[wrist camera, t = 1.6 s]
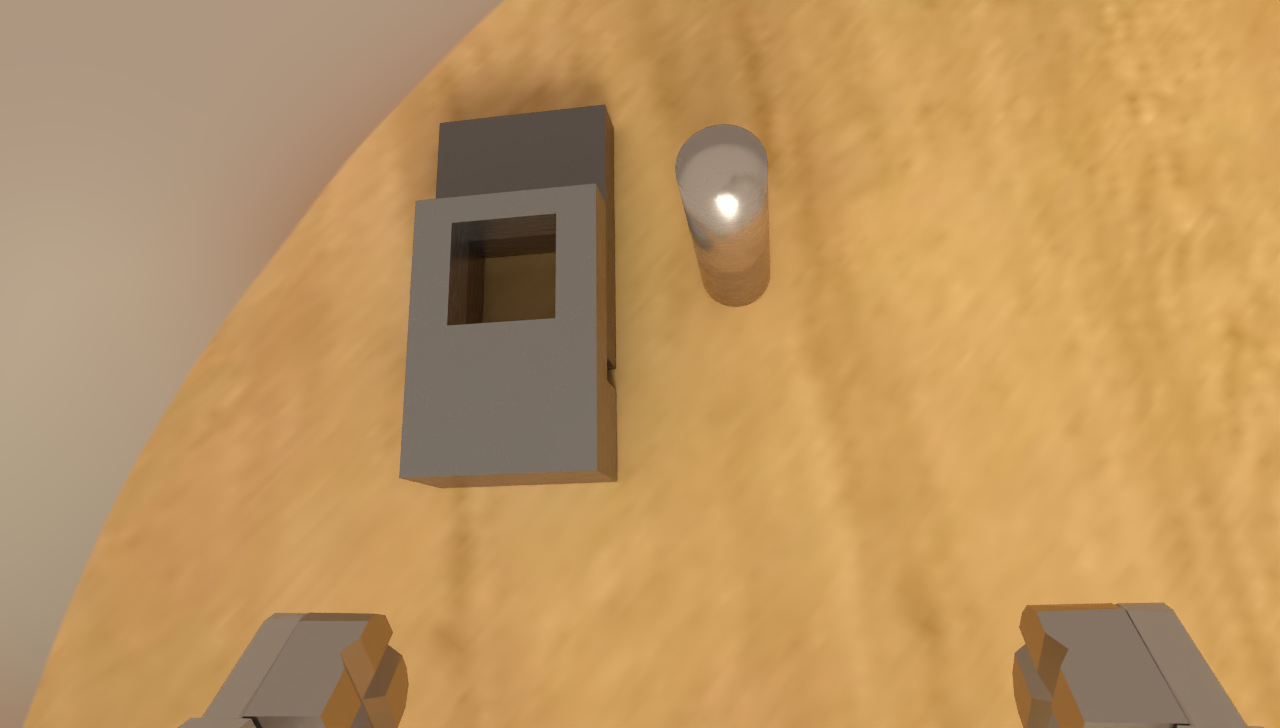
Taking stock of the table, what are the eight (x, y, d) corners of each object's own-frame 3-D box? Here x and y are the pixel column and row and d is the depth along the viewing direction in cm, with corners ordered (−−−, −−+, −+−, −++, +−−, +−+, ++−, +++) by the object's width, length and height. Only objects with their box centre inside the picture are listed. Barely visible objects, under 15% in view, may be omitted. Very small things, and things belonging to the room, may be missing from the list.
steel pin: (767, 240, 36) (764, 119, 26) (772, 304, 35) (770, 203, 25) (701, 246, 36) (674, 129, 26) (703, 309, 35) (676, 211, 26)
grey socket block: (613, 127, 38) (595, 79, 34) (617, 481, 34) (597, 470, 30) (456, 144, 39) (421, 99, 36) (440, 488, 35) (399, 477, 31)
